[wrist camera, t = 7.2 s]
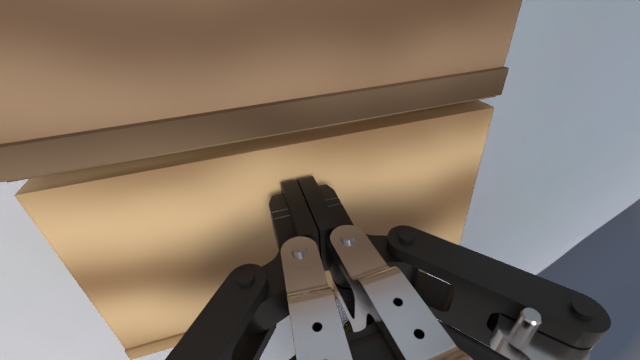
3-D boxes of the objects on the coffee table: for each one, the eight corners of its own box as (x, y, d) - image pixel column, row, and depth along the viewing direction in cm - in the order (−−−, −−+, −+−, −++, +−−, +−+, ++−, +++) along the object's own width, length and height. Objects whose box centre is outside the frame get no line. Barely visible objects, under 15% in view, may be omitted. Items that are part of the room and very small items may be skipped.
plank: (43, 162, 13) (12, 197, 11) (461, 92, 17) (496, 108, 15) (140, 319, 19) (132, 361, 17) (433, 239, 24) (455, 266, 21)
